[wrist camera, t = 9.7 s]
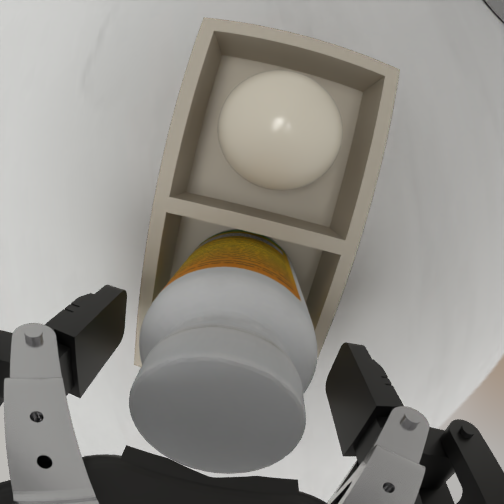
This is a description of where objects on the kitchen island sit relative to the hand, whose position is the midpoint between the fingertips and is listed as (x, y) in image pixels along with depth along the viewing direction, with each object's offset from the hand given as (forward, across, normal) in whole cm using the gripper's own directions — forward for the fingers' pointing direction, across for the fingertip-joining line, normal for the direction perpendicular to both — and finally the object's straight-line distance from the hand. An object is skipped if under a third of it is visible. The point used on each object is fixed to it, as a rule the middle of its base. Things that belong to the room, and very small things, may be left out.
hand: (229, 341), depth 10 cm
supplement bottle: (+5, 0, 0) cm, 5 cm away
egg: (+5, 0, -8) cm, 9 cm away
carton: (+6, 0, -4) cm, 7 cm away
